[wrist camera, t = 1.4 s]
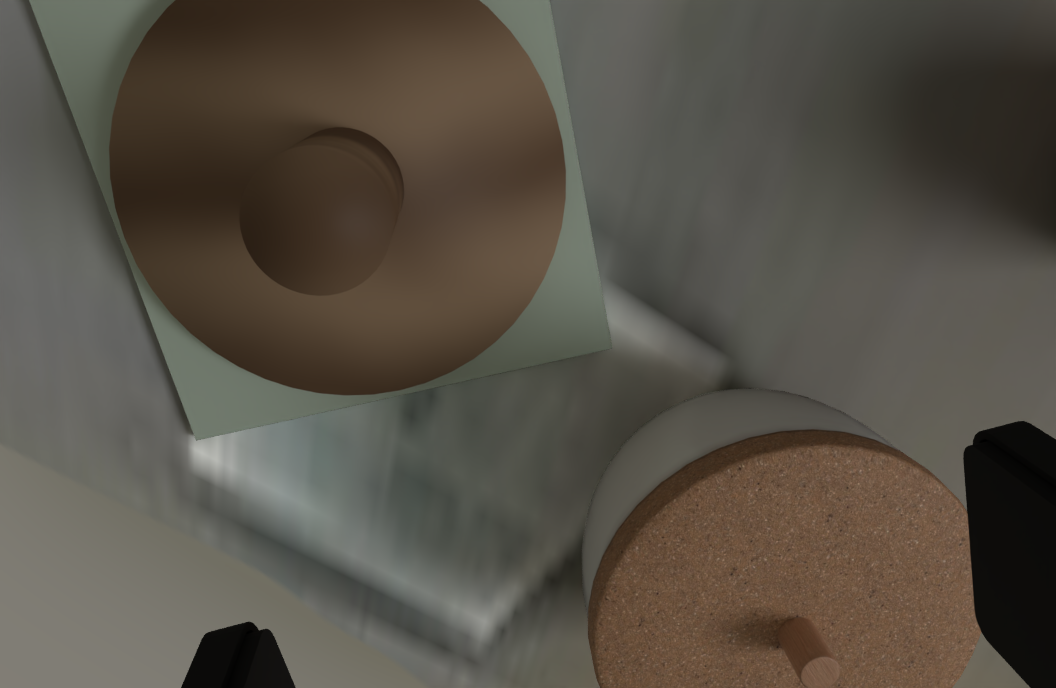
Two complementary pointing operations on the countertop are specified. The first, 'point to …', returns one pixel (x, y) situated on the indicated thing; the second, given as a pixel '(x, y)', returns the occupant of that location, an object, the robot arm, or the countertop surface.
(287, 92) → the lid
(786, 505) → the lidded bowl
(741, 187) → the countertop surface
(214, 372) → the mat
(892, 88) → the countertop surface
